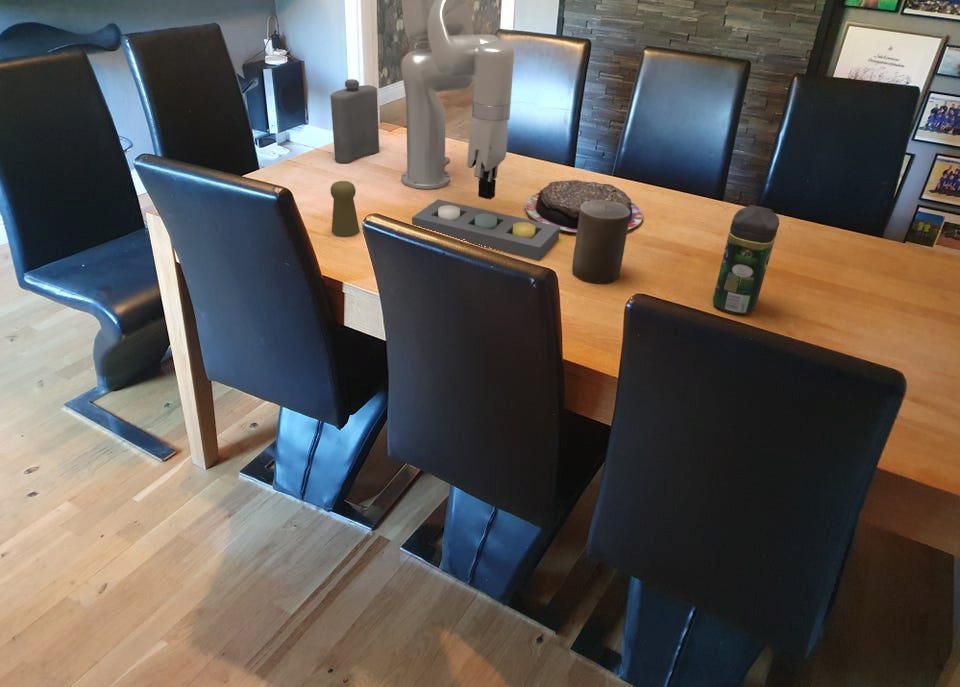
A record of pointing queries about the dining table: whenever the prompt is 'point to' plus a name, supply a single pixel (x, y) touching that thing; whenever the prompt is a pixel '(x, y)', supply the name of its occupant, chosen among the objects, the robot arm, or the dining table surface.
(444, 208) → the ivory button
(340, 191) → the cork
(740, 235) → the coffee jar
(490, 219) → the teal button
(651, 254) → the dining table surface
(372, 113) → the flask
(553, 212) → the chocolate cake
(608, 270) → the pillar candle
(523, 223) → the mustard button
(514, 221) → the console
